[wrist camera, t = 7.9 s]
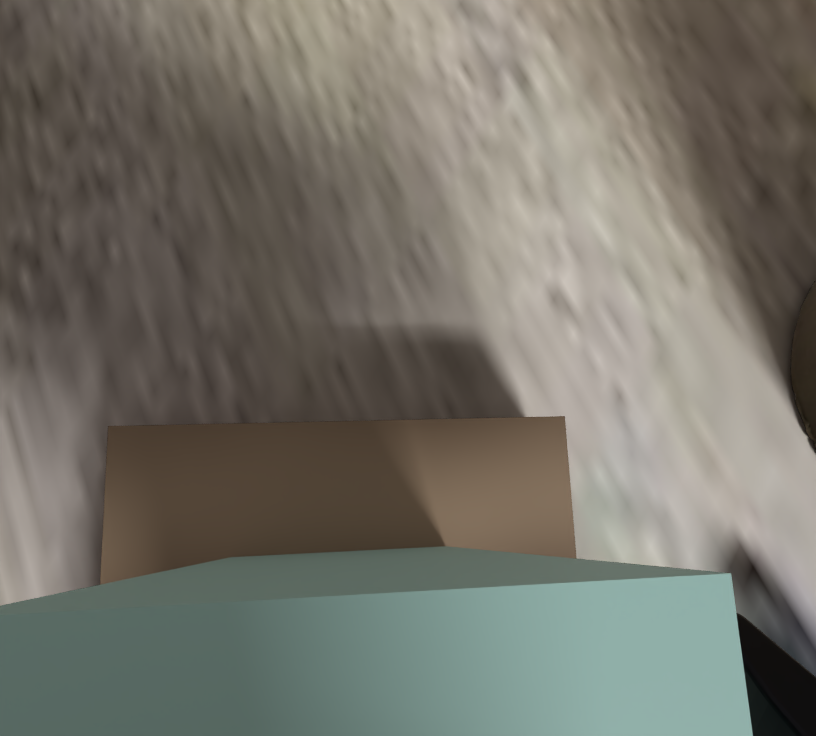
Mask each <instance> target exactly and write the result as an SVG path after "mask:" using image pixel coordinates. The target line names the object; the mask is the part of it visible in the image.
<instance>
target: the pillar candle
mask: <svg viewBox="0 0 816 736" xmlns="http://www.w3.org/2000/svg"><path fill="white" fill-rule="evenodd" d="M791 378H792V387H793V391H794V393H795V396H796V405H797V408H798V410H799V413H800V416H801V418H802V420H803V423H804V425H805V427H806V432H807V434H808V436H809V437H810V438H811V439H812V440H814V442H815V443H814V446H815V447H816V281H815V282H814V284H813V286H812V287H811V288H810V291H809V293H808V295H807V297H806V298H805V300H804V302H803V304H802V307H801V310H800V314H799V318H798V322H797V326H796V329H795V332H794V338H793V343H792V354H791Z"/></svg>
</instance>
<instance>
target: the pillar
mask: <svg viewBox="0 0 816 736" xmlns="http://www.w3.org/2000/svg"><path fill="white" fill-rule="evenodd" d="M0 736H753V732H752V725H751V718H750V710H749V703H748V696H747V688H746V681H745V674H744V666H743V659H742V651H741V644H740V637H739V629H738V622H737V615H736V607H735V600H734V592H733V585H732V578H731V573H722V572H712V571H701V570H691V569H680V568H670V567H659V566H648V565H638V564H627V563H617V562H606V561H596V560H585V559H575V558H564V557H554V556H543V555H533V554H522V553H512V552H501V551H491V550H480V549H470V548H459V547H448V546H441V547H422V548H402V549H382V550H363V551H343V552H323V553H304V554H284V555H264V556H245V557H229V558H224V559H220V560H215V561H210V562H205V563H201V564H196V565H191V566H187V567H182V568H177V569H172V570H168V571H163V572H158V573H153V574H149V575H144V576H139V577H134V578H130V579H125V580H120V581H115V582H111V583H106V584H101V585H97V586H92V587H87V588H82V589H78V590H73V591H68V592H63V593H59V594H54V595H49V596H44V597H40V598H35V599H30V600H25V601H21V602H16V603H11V604H7V605H2V606H0Z"/></svg>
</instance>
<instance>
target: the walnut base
mask: <svg viewBox="0 0 816 736" xmlns="http://www.w3.org/2000/svg"><path fill="white" fill-rule="evenodd" d="M441 546H448V547H459V548H470V549H480V550H491V551H501V552H512V553H522V554H533V555H543V556H554V557H564V558H575V559H576V548H575V536H574V524H573V511H572V499H571V487H570V475H569V463H568V451H567V439H566V427H565V416H557V417H511V418H464V419H418V420H371V421H325V422H279V423H232V424H186V425H139V426H108V438H107V457H106V477H105V497H104V516H103V536H102V555H101V575H100V585H101V584H106V583H111V582H115V581H120V580H125V579H130V578H134V577H139V576H144V575H149V574H153V573H158V572H163V571H168V570H172V569H177V568H182V567H187V566H191V565H196V564H201V563H205V562H210V561H215V560H220V559H224V558H229V557H245V556H264V555H284V554H304V553H323V552H343V551H363V550H382V549H402V548H422V547H441Z"/></svg>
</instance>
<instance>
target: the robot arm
mask: <svg viewBox="0 0 816 736" xmlns="http://www.w3.org/2000/svg"><path fill="white" fill-rule="evenodd" d="M736 615H737V622H738V629H739V637H740V644H741V651H742V659H743V666H744V674H745V681H746V688H747V696H748V703H749V710H750V718H751V725H752V732H753V736H816V677H815V676H814V675H813V674H812V673H810V672H809V671H808V670H807V669H806V668H804V667H803V666H802V665H801V664H800V663H798V662H797V661H796V660H795V659H794V658H792V657H791V656H790V655H789V654H788V653H786V652H785V651H784V650H783V649H782V648H781V647H779V646H778V645H777V644H776V643H775V642H773V641H772V640H771V639H770V638H769V637H767V636H766V635H765V634H764V633H763V632H761V631H760V630H759V629H758V628H757V627H755V626H754V625H753V624H752V623H751V622H750V621H748V620H747V619H746V618H745V617H743V616H742V615H740V614H738V613H736Z"/></svg>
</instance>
